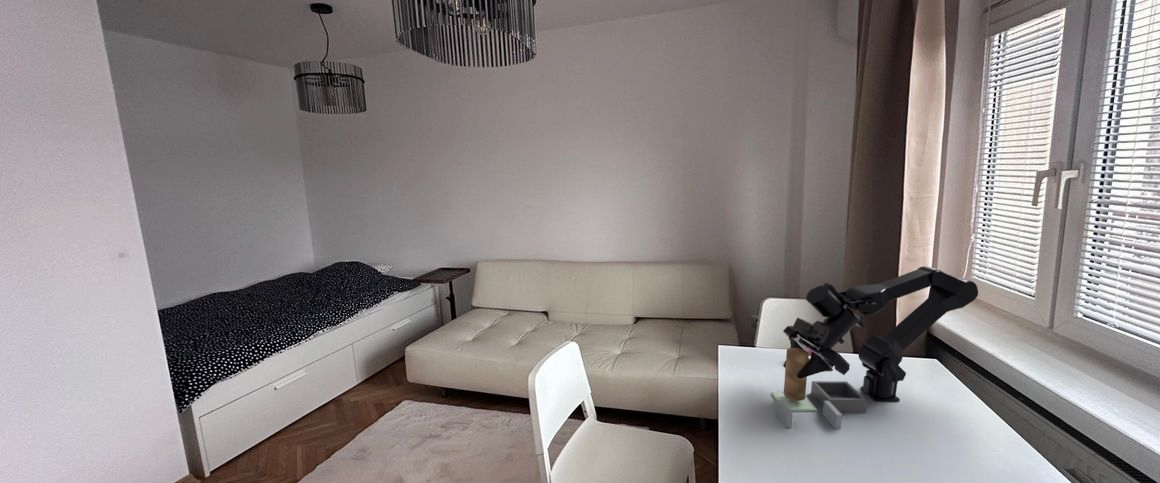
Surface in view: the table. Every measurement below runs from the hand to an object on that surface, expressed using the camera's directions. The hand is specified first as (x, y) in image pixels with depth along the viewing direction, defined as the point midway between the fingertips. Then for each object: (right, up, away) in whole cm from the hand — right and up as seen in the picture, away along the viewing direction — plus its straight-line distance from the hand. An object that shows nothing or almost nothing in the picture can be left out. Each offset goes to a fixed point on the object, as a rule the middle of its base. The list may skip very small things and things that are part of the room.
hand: (791, 372), depth 111 cm
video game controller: (+17, -5, +21) cm, 27 cm away
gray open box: (+12, -8, +1) cm, 15 cm away
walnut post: (+1, -6, +1) cm, 7 cm away
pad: (+1, -8, +2) cm, 9 cm away
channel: (+1, -10, -6) cm, 12 cm away
